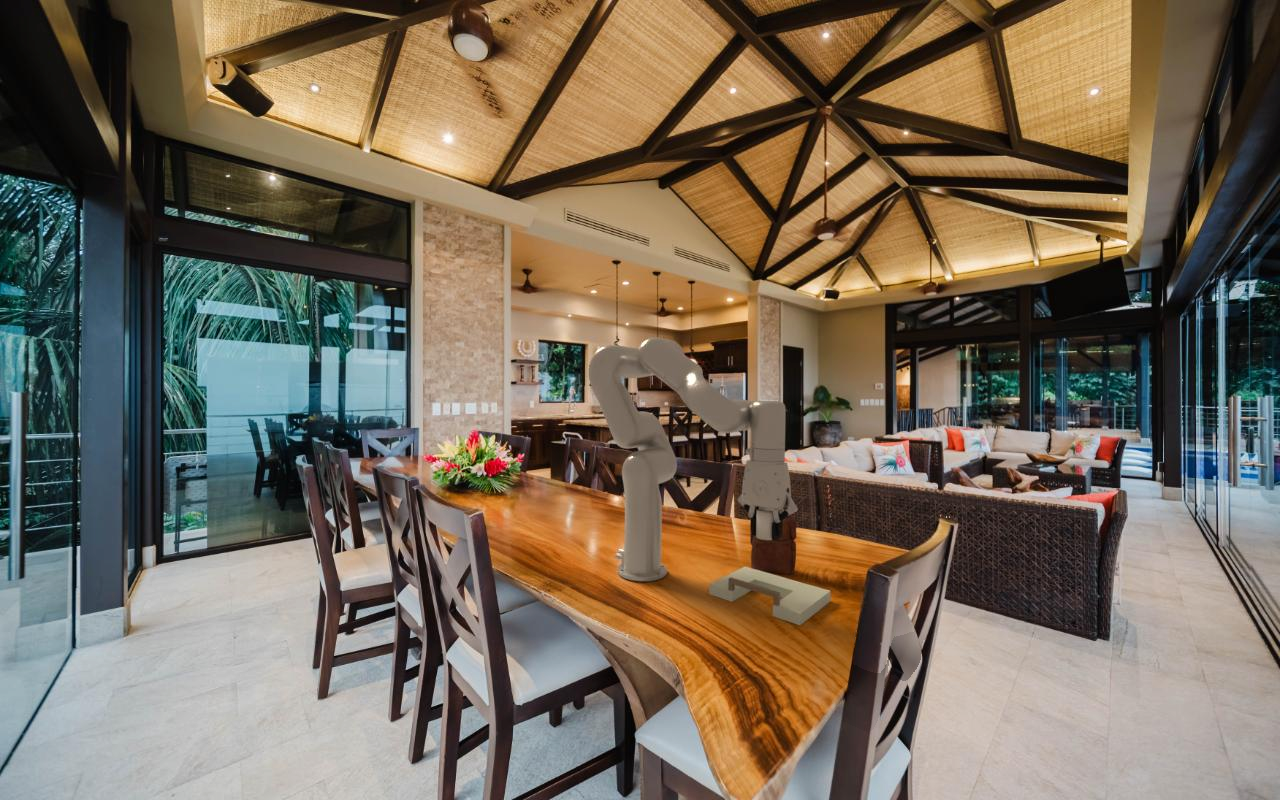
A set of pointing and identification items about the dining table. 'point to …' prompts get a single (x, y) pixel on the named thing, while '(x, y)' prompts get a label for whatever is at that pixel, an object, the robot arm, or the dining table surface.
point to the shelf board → (774, 593)
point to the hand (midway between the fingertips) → (766, 535)
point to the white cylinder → (764, 523)
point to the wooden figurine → (776, 550)
